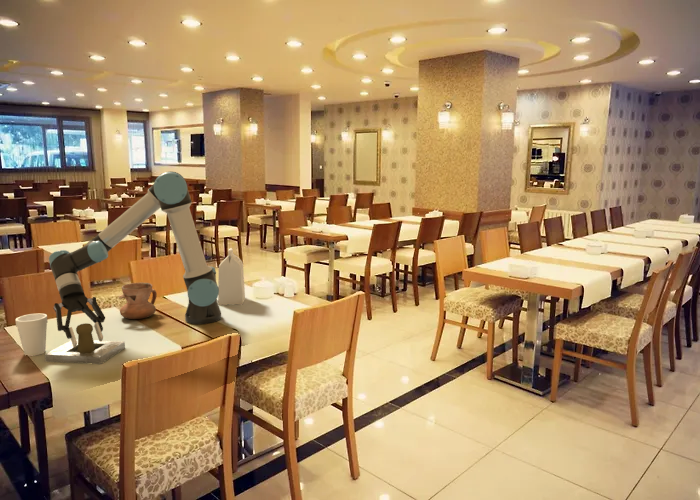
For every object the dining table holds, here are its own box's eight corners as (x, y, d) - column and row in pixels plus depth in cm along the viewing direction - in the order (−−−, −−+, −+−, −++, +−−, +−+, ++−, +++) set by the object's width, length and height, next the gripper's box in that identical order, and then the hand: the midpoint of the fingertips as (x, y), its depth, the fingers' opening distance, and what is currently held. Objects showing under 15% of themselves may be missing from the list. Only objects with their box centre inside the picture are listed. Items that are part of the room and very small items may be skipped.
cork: (88, 358, 173) (85, 328, 171) (73, 356, 174) (70, 326, 172) (100, 351, 179) (97, 322, 177) (85, 350, 180) (82, 321, 178)
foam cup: (28, 348, 182) (25, 313, 180) (55, 347, 183) (52, 313, 180) (13, 358, 172) (9, 321, 170) (41, 357, 173) (38, 321, 171)
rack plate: (125, 348, 183) (124, 341, 182) (101, 364, 168) (100, 357, 168) (73, 345, 185) (72, 339, 184) (45, 361, 170) (44, 354, 169)
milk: (221, 298, 251) (220, 247, 247) (245, 297, 252) (243, 247, 248) (218, 304, 239) (216, 251, 235) (242, 304, 241) (241, 251, 236)
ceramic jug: (130, 324, 209) (128, 291, 207) (110, 318, 217) (109, 286, 214) (167, 315, 224) (166, 284, 221) (147, 309, 232) (146, 279, 229)
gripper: (98, 289, 191) (117, 340, 182) (36, 299, 177) (53, 355, 168) (102, 278, 186) (121, 330, 178) (39, 287, 172) (56, 344, 164)
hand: (88, 342), depth 173 cm, fingers open, 8 cm apart
